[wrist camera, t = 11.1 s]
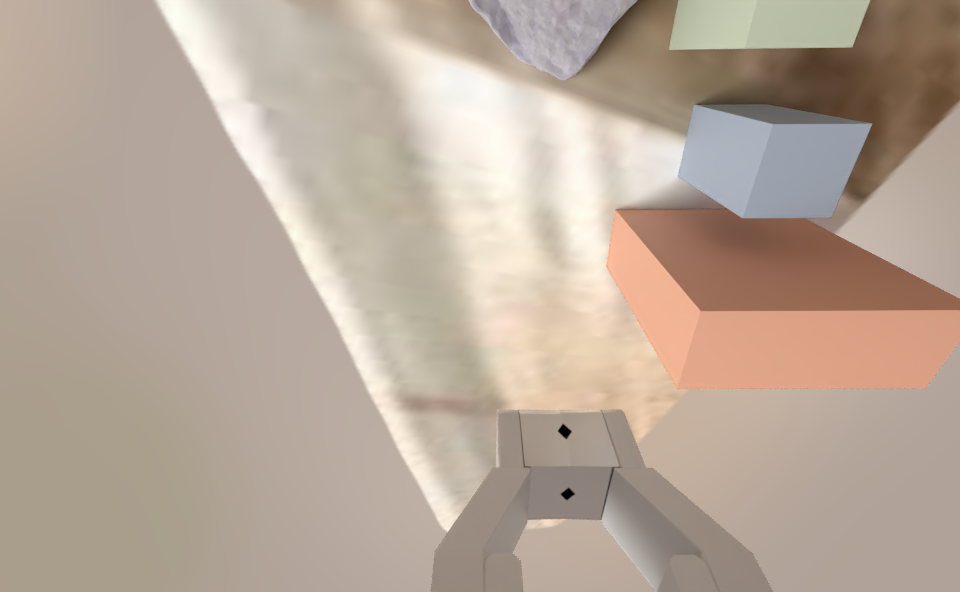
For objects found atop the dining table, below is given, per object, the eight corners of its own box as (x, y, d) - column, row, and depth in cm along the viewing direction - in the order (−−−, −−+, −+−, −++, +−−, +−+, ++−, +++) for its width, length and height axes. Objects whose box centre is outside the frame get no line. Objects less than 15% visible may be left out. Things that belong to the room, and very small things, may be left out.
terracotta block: (615, 209, 39) (701, 311, 24) (784, 208, 39) (981, 310, 24) (606, 266, 42) (676, 389, 27) (763, 265, 42) (925, 388, 27)
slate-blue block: (694, 104, 35) (773, 124, 25) (766, 104, 35) (872, 123, 25) (677, 176, 38) (742, 218, 28) (743, 176, 38) (831, 217, 28)
